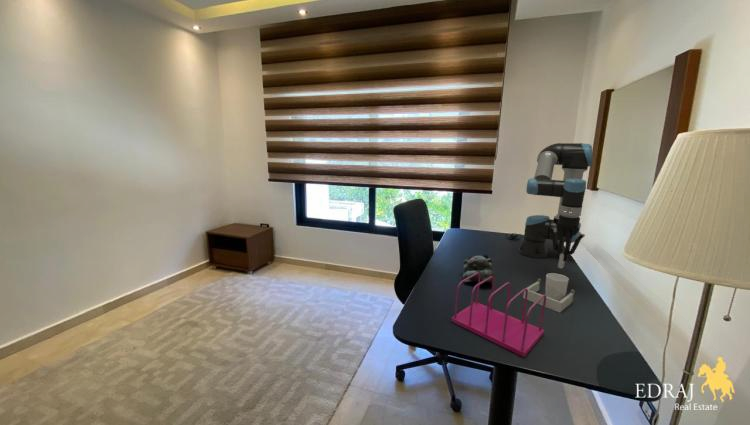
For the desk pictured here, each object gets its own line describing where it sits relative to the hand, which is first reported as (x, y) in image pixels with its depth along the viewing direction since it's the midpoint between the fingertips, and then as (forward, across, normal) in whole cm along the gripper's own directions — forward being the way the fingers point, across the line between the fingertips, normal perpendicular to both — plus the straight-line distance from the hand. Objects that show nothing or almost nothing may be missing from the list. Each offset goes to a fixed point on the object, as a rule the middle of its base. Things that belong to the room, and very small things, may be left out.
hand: (560, 267), depth 131 cm
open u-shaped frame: (+10, +2, -15) cm, 18 cm away
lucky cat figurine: (+10, -26, -24) cm, 37 cm away
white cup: (+10, +3, -13) cm, 16 cm away
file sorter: (+9, -1, -51) cm, 52 cm away
